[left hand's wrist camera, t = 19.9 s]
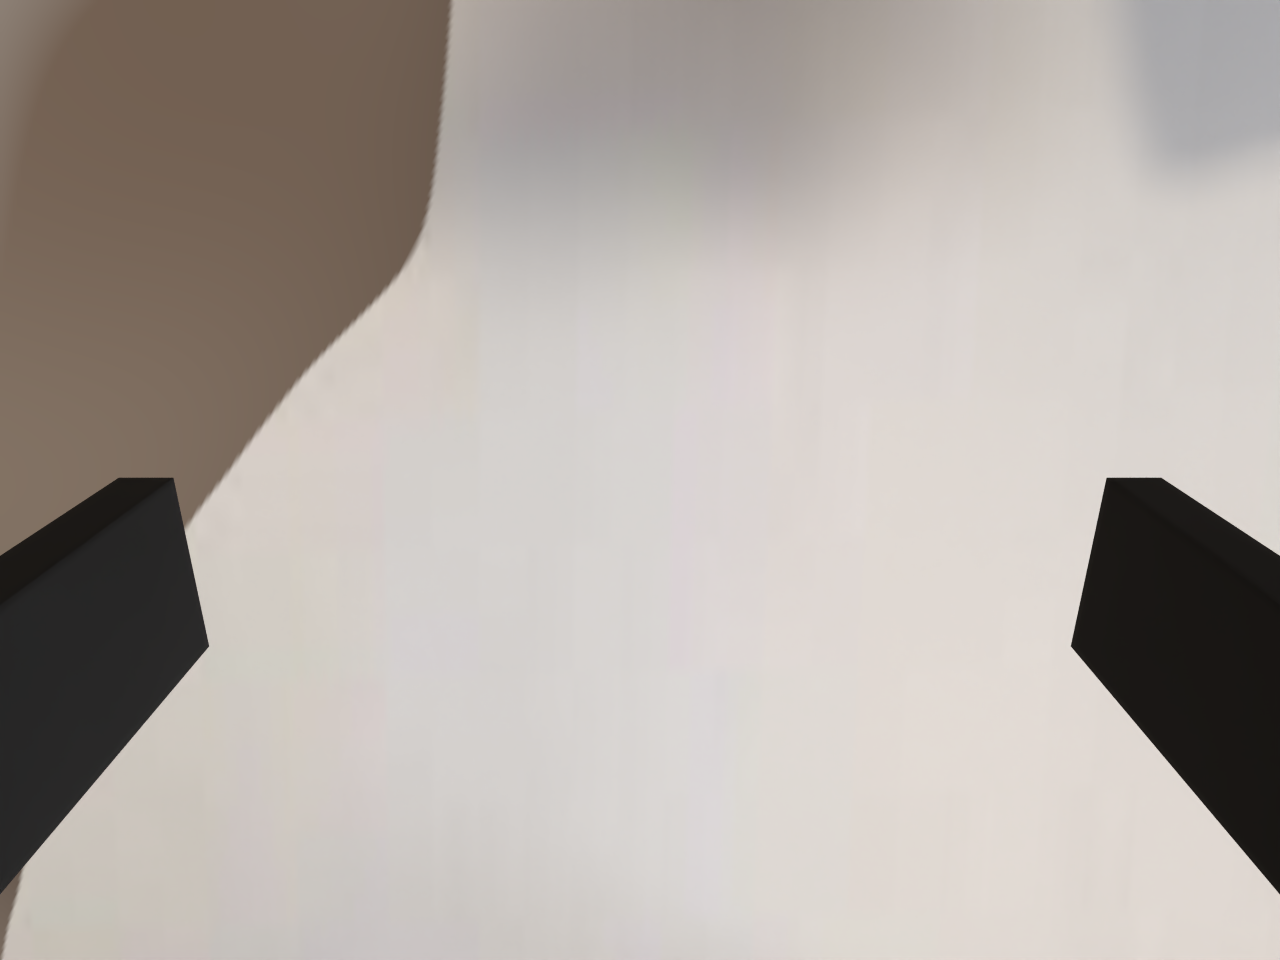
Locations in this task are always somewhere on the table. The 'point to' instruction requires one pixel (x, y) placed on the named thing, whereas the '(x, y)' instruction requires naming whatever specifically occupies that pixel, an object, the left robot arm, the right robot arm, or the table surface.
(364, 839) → the table surface
